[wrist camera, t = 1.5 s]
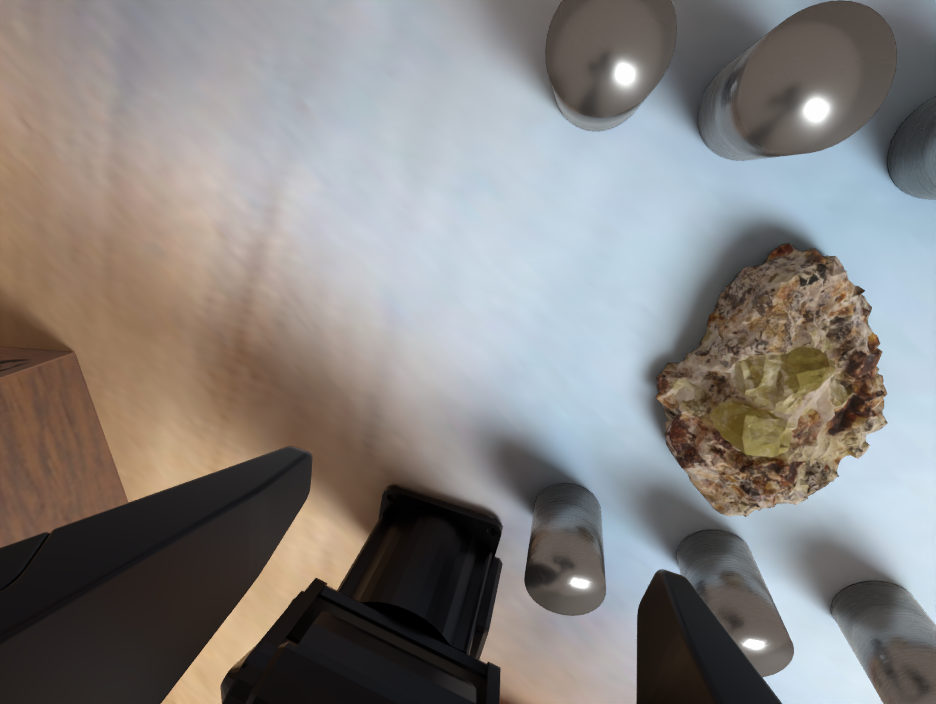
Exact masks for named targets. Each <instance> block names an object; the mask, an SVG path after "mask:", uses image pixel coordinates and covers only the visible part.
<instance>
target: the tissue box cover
mask: <svg viewBox="0 0 936 704" xmlns="http://www.w3.org/2000/svg"><path fill="white" fill-rule="evenodd" d="M126 503H128V500H127V497H126V495H125V492H124V489H123V486H122V483H121V481H120V478H119V475H118V472H117V469H116V467H115V464H114V461H113V458H112V455H111V453H110V450H109V447H108V444H107V441H106V439H105V436H104V433H103V430H102V427H101V425H100V422H99V419H98V416H97V413H96V411H95V408H94V405H93V402H92V399H91V397H90V394H89V391H88V388H87V385H86V383H85V380H84V377H83V374H82V371H81V369H80V366H79V363H78V360H77V357H76V355H75V352H66V351H52V350H39V349H25V348H11V347H0V548H1V547H4V546H7V545H10V544H13V543H15V542H18V541H21V540H24V539H27V538H30V537H32V536H35V535H38V534H41V533H44V532H49V533H51V532H52V530H54V529H55V528H58V527H61V526H64V525H67V524H70V523H72V522H75V521H78V520H81V519H84V518H87V517H90V516H92V515H95V514H98V513H101V512H104V511H107V510H109V509H112V508H115V507H118V506H121V505H124V504H126Z"/></svg>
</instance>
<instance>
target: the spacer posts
mask: <svg viewBox="0 0 936 704" xmlns="http://www.w3.org/2000/svg"><path fill="white" fill-rule="evenodd" d="M675 41H676V16H675V12H674V8H673V5H672V2H671V0H563V1H562V2H561V4H560V5H559V7H558V9H557V11H556V12H555V14H554V16H553V19H552V21H551V24H550V27H549V31H548V34H547V40H546V50H545V56H546V66H547V71H548V74H549V78H550V81H551V84H552V88H553V91H554V94H555V97H556V101H557V104H558V106H559V109H560V110H561V112H562V114H563V115H564V116H565V118H566V119H567V120H568V121H569V122H571V123H572V124H573V125H575V126H576V127H579V128H581V129H584V130H587V131H604V130H608V129H611V128H614V127H616V126H618V125H620V124H621V123H623V122H624V121H626V120H627V119H628V118H629V117H630V116H631V115H632V114H633V113H634V112H635V111H636V110H637V109H638V107H639V106H640V105H641V104H642V102H643V101H644V100H645V99H646V98H647V96H648V95H649V94H650V93H651V91H652V90H653V89H654V88H655V86H656V85H657V84H658V83H659V81H660V80H661V78H662V77H663V75H664V73H665V71H666V69H667V68H668V66H669V63H670V60H671V58H672V55H673V51H674V47H675ZM896 64H897V50H896V43H895V39H894V36H893V33H892V31H891V29H890V27H889V25H888V24H887V22H886V21H885V20H884V18H883V17H882V16H880V15H879V14H878V13H877V12H876V11H874V10H873V9H871V8H870V7H867V6H865V5H863V4H860V3H856V2H852V1H829V2H824V3H819V4H816V5H813V6H810V7H808V8H805V9H803V10H801V11H799V12H797V13H795V14H794V15H792V16H790V17H789V18H787V19H786V20H785V21H783V22H782V23H781V24H779V25H778V26H777V27H776V28H774V29H773V30H772V31H770V32H769V33H768V34H767V35H765V36H764V37H763V38H761V39H760V40H759V41H758V42H756V43H755V44H754V45H752V46H751V47H750V48H749V49H747V50H746V51H745V52H743V53H742V54H741V55H740V56H738V57H737V58H736V59H734V60H733V61H732V62H731V63H729V64H728V65H727V66H725V67H724V68H723V69H722V70H721V71H720V72H719V73H718V74H717V75H716V76H715V77H714V78H713V79H712V81H711V82H710V84H709V85H708V87H707V89H706V90H705V92H704V95H703V97H702V100H701V103H700V106H699V112H698V124H699V130H700V134H701V136H702V139H703V140H704V142H705V144H706V145H707V146H708V147H709V148H710V149H711V150H712V151H713V152H714V153H716V154H717V155H719V156H721V157H723V158H726V159H730V160H736V161H744V160H753V159H761V158H770V157H779V156H788V155H796V154H805V153H812V152H816V151H820V150H824V149H826V148H829V147H832V146H834V145H836V144H838V143H840V142H842V141H843V140H845V139H847V138H848V137H850V136H851V135H853V134H854V133H855V132H856V131H858V130H859V129H860V128H861V127H862V126H863V125H865V124H866V123H867V122H868V121H869V119H870V118H871V117H872V116H873V115H874V114H875V113H876V111H877V110H878V108H879V107H880V106H881V104H882V103H883V101H884V99H885V97H886V96H887V94H888V91H889V89H890V87H891V84H892V81H893V78H894V75H895V70H896ZM888 170H889V173H890V176H891V178H892V180H893V182H894V183H895V184H896V186H897V187H898V188H899V189H901V190H902V191H903V192H905V193H906V194H908V195H911V196H913V197H917V198H921V199H930V200H936V97H934V98H932V99H930V100H928V101H927V102H925V103H924V104H922V105H921V106H920V107H918V108H917V109H916V110H915V111H914V112H912V113H911V114H910V115H909V116H908V117H907V119H906V120H905V121H904V122H903V123H902V125H901V126H900V127H899V129H898V130H897V132H896V134H895V135H894V138H893V140H892V142H891V145H890V148H889V153H888ZM677 562H678V566H679V570H680V573H681V575H682V576H684V577H685V578H687V579H688V580H689V582H690V583H691V584H692V585H693V587H694V588H695V589H696V591H697V592H698V593H699V595H700V596H701V597H702V599H703V600H704V601H705V603H706V604H707V605H708V607H709V608H710V609H711V610H712V612H713V613H714V614H715V616H716V617H717V618H718V620H719V621H720V622H721V624H722V625H723V626H724V628H725V629H726V630H727V632H728V633H729V634H730V636H731V637H732V638H733V639H734V641H735V642H736V643H737V645H738V646H739V647H740V649H741V650H742V651H743V653H744V654H745V655H746V657H747V658H748V659H749V661H750V662H751V663H752V664H753V666H754V667H755V668H756V670H757V671H758V672H759V674H760V675H761V676H762V677H766V676H770V675H773V674H775V673H777V672H779V671H781V670H783V669H784V668H785V667H786V666H787V665H788V664H789V663H790V661H791V660H792V657H793V654H794V647H793V643H792V641H791V639H790V637H789V634H788V632H787V630H786V628H785V626H784V623H783V621H782V619H781V617H780V615H779V613H778V610H777V608H776V606H775V604H774V602H773V599H772V597H771V595H770V593H769V591H768V588H767V586H766V584H765V582H764V580H763V578H762V575H761V573H760V571H759V569H758V567H757V564H756V562H755V560H754V558H753V556H752V554H751V551H750V549H749V547H748V546H747V544H746V543H745V542H744V541H743V540H741V539H740V538H739V537H737V536H735V535H733V534H731V533H728V532H724V531H719V530H706V531H701V532H697V533H694V534H692V535H690V536H688V537H687V538H686V539H684V540H683V541H682V543H681V544H680V545H679V547H678V550H677ZM524 580H525V586H526V589H527V591H528V593H529V595H530V596H531V597H532V599H533V600H534V601H535V602H536V603H538V604H539V605H540V606H542V607H543V608H545V609H547V610H549V611H551V612H554V613H557V614H562V615H569V616H575V615H583V614H586V613H589V612H591V611H593V610H595V609H596V608H598V607H599V606H600V605H601V603H602V602H603V600H604V598H605V595H606V582H605V566H604V550H603V534H602V518H601V508H600V505H599V502H598V501H597V499H596V498H595V496H594V495H593V494H592V493H590V492H589V491H588V490H586V489H585V488H583V487H580V486H578V485H574V484H569V483H560V484H554V485H551V486H549V487H547V488H545V489H544V490H543V491H541V492H540V494H539V495H538V496H537V498H536V501H535V506H534V513H533V521H532V528H531V535H530V542H529V549H528V556H527V563H526V570H525V579H524ZM831 611H832V615H833V617H834V619H835V620H836V622H837V624H838V626H839V627H840V629H841V631H842V633H843V634H844V636H845V638H846V639H847V641H848V643H849V645H850V646H851V648H852V650H853V652H854V653H855V655H856V657H857V659H858V660H859V662H860V664H861V665H862V667H863V669H864V671H865V672H866V674H867V676H868V678H869V679H870V681H871V683H872V684H873V686H874V688H875V690H876V691H877V693H878V695H879V697H880V698H881V700H882V702H883V703H884V704H936V625H935V624H934V622H933V621H932V620H931V619H930V617H929V616H928V615H927V614H926V612H925V611H924V610H923V609H922V607H921V606H920V605H919V604H918V602H917V601H916V600H915V599H914V597H913V596H912V595H911V594H910V593H909V592H908V591H906V590H905V589H903V588H901V587H899V586H897V585H894V584H891V583H886V582H878V581H870V582H862V583H858V584H854V585H851V586H849V587H847V588H845V589H843V590H842V591H841V592H839V593H838V594H837V595H836V597H835V598H834V600H833V602H832V605H831Z"/></svg>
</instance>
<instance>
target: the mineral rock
mask: <svg viewBox="0 0 936 704" xmlns="http://www.w3.org/2000/svg"><path fill="white" fill-rule="evenodd" d="M864 291H865V290H863V289H862V288H860V287H859V286H854V285H853V284H852V283H851V282H850V281H849V280H848V278H847V272H846V271H845V270H844V268H843V265H842V264H841V262H840V261H839V260H838V258H837V257H836V256H828V255H827V256H826V257H825V256H822V255H821V254H820V253H819V252H818V251H817V250H816V249H815V248H814V249H810V250H805V251H799V250H797V249H796V248H795V247H794V246H793V245H791V244H790V243H787V244H784V245H780V246H779V247H778V248H777V249H775V250H774V251H773V252H772V253H770V254H769V256H768V257H767V259H766V261H765V263H764V264H763V265H756V266H754V267H745V268H743V270H742V271H741V272H740V273H739V274H738V275H737V276H736V278H735V279H734V280H733V281H732V282H731V283H730V284H729V285H728V286H726V290H725V291H724V292H722V293H721V294H720V296H719V299H718V301H717V304H716V306H715V311H714V312H713V313H712V314H711V315H710V316H709V319H708V323H707V331H706V334H705V335H704V337H703V338H702V340H701V342H700V345H699V347H698V348H697V349H696V350H693V351H692V352H690V353H688V354H686V358H685V360H684V361H681V362H680V363H668V364H667V366H666V367H665V369H664V371H663V372H662V373H661V374H660V375H659V376H658V377H657V381H658V385H657V388H658V390H659V391H660V392H659V393H658V395H657V396H656V398H657V399H658V400H659V402H660V403H661V404H662V405H663V407H664V411H665V415H666V417H667V419H668V420H667V422H666V423H665V425H666V432H665V436H666V439H667V440H666V444H667V446H668V448H669V450H670V451H671V453H672V454H673V456H674V457H675V459H676V460H677V462H678V463H679V465H680V466H681V468H683V469H684V470H685V472H686V473H687V474H688V476H689V479H690V481H691V482H692V483H693V485H694V486H695V487H696V488H697V489H698V490H699V491H700V493H701V494H702V495H703V496H704V498H705V499H706V500H707V501H708V502H709V503H710V504H711V505H712V507H713V508H714V509H715V510H716V511H718V512H719V513H721V514H724V515H727V516H733V515H743V516H745V517H746V516H748V515H749V514H750V513H751V512H752V511H754V510H755V509H757V510H761V509H762V508H771V507H775V505H776V504H781V503H791V504H795V505H796V504H798V503H800V502H802V501H804V500H806V499H808V496H809V495H811V494H813V493H815V492H816V491H818V490H820V489H821V488H823V487H825V486H826V485H828V484H829V482H832V481H834V479H835V478H836V477H839V476H838V474H837V468H838V465H839V462H840V460H841V459H842V458H844V457H845V456H848V455H852V456H854V457H855V458H857V459H858V458H859V457H861V456H862V455H863V454H864V453H865V452H866V451H867V449H868V448H869V446H870V445H869V444H868V443H866V435H867V434H870V433H873V432H876V431H878V430H880V429H881V428H883V427H884V426H885V425H886V424H887V421H886V419H885V417H884V416H883V414H882V410H883V409H884V399H883V397H885V396H886V395H887V392H886V389H885V387H884V385H883V376H882V375H879V374H877V373H878V371H879V369H878V368H877V367H876V365H877V363H878V361H879V359H880V357H881V354H882V351H881V350H879V349H878V348H877V347H878V346H879V345H880V342H879V339H878V337H877V335H875V334H874V333H873V332H872V330H871V328H870V327H869V325H868V317H869V315H870V312H871V310H872V307H871V306H870V305H869V303H868V302H867V301H866V299H865V297H864V296H863V295H861V294H862V293H863V292H864Z"/></svg>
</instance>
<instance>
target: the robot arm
mask: <svg viewBox="0 0 936 704" xmlns="http://www.w3.org/2000/svg"><path fill="white" fill-rule="evenodd" d="M311 473H312V454H311V453H310V452H308V451H306V450H303V449H300V448H297V447H293V446H289V447H285V448H282V449H279V450H276V451H274V452H271V453H268V454H265V455H262V456H259V457H257V458H254V459H251V460H248V461H245V462H242V463H240V464H237V465H234V466H231V467H228V468H225V469H223V470H220V471H217V472H214V473H211V474H208V475H206V476H203V477H200V478H197V479H194V480H191V481H189V482H186V483H183V484H180V485H177V486H174V487H172V488H169V489H166V490H163V491H160V492H157V493H155V494H152V495H149V496H146V497H143V498H141V499H138V500H135V501H132V502H129V503H126V504H124V505H121V506H118V507H115V508H112V509H109V510H107V511H104V512H101V513H98V514H95V515H92V516H90V517H87V518H84V519H81V520H78V521H75V522H72V523H70V524H67V525H64V526H61V527H58V528H55V529H54V530H52V532H51V533H49V532H44V533H41V534H38V535H35V536H32V537H30V538H27V539H24V540H21V541H18V542H15V543H13V544H10V545H7V546H4V547H1V548H0V704H161V703H162V701H163V700H164V699H165V697H166V696H167V695H168V693H169V692H170V691H171V690H172V688H173V687H174V686H175V684H176V683H177V682H178V680H179V679H180V678H181V677H182V675H183V674H184V673H185V671H186V670H187V669H188V667H189V666H190V665H191V664H192V662H193V661H194V660H195V658H196V657H197V656H198V655H199V653H200V652H201V651H202V649H203V648H204V647H205V645H206V644H207V643H208V642H209V640H210V639H211V638H212V636H213V635H214V634H215V632H216V631H217V630H218V629H219V627H220V626H221V625H222V623H223V622H224V621H225V619H226V618H227V617H228V616H229V614H230V613H231V612H232V610H233V609H234V608H235V606H236V605H237V604H238V603H239V601H240V600H241V599H242V597H243V596H244V595H245V594H246V592H247V591H248V590H249V588H250V587H251V586H252V584H253V583H254V581H255V580H256V579H257V577H258V576H259V574H260V573H261V571H262V570H263V568H264V567H265V565H266V564H267V562H268V561H269V559H270V557H271V556H272V554H273V552H274V551H275V549H276V548H277V546H278V544H279V543H280V541H281V540H282V538H283V536H284V535H285V533H286V532H287V530H288V528H289V527H290V525H291V524H292V522H293V520H294V519H295V517H296V516H297V514H298V512H299V511H300V509H301V507H302V506H303V504H304V503H305V501H306V499H307V497H308V494H309V491H310V485H311ZM390 494H392V495H394V496H395V497H393V496H391V495H390ZM490 528H494V529H495V530H491V529H490ZM502 528H503V526H502V524H501V523H500V522H499V521H498V520H496V519H494V518H491V517H488V516H485V515H482V514H479V513H476V512H473V511H470V510H466V509H463V508H460V507H457V506H454V505H451V504H448V503H445V502H442V501H439V500H436V499H433V498H430V497H427V496H424V495H421V494H418V493H415V492H412V491H409V490H406V489H403V488H400V487H397V486H393V485H392V486H388V487H387V488H386V490H385V491H384V493H383V495H382V502H381V508H380V514H379V520H378V522H377V524H376V526H375V527H374V529H373V531H372V532H371V534H370V536H369V537H368V539H367V541H366V542H365V544H364V546H363V547H362V549H361V551H360V553H359V554H358V556H357V558H356V559H355V561H354V563H353V564H352V566H351V568H350V569H349V571H348V573H347V575H346V576H345V578H344V580H343V581H342V583H341V585H340V586H339V588H338V590H335V589H333V588H331V587H329V586H327V583H326V582H324V581H322V580H320V579H318V578H315V579H314V581H313V582H312V583H311V584H310V585H309V587H308V588H307V589H306V590H305V592H304V591H301V592H300V593H299V594H298V596H297V597H296V598H294V599H293V600H292V602H291V603H290V605H289V606H288V608H287V609H286V610H285V611H284V613H283V614H282V615H281V616H280V618H279V619H278V620H277V621H276V622H275V624H274V625H273V626H272V627H271V628H270V630H269V631H268V632H267V633H266V634H265V636H264V637H263V638H262V639H261V641H260V642H259V643H258V644H257V645H256V646H255V647H254V648H253V649H252V650H251V651H249V652H248V653H247V654H246V655H245V656H244V657H243V658H242V659H241V660H240V661H239V662H237V663H236V664H235V665H234V666H233V667H232V668H231V669H230V670H229V672H228V673H227V675H226V676H225V678H224V680H223V681H222V684H221V698H222V704H499V696H500V667H498V666H496V665H494V664H492V663H490V662H488V663H487V664H486V663H484V662H482V661H480V660H479V659H480V656H481V653H482V650H483V647H484V644H485V641H486V638H487V635H488V632H489V628H490V623H491V618H492V613H493V608H494V603H495V598H496V593H497V588H498V583H499V578H500V573H501V568H502V562H501V560H500V558H497V557H495V554H496V550H497V547H498V544H499V541H500V537H501V534H502ZM637 704H782V703H781V701H780V700H779V699H778V697H777V696H776V695H775V693H774V692H773V691H772V689H771V688H770V687H769V686H768V684H767V683H766V682H765V680H764V679H763V678H762V676H761V675H760V674H759V672H758V671H757V670H756V668H755V667H754V666H753V664H752V663H751V662H750V661H749V659H748V658H747V657H746V655H745V654H744V653H743V651H742V650H741V649H740V647H739V646H738V645H737V643H736V642H735V641H734V639H733V638H732V637H731V636H730V634H729V633H728V632H727V630H726V629H725V628H724V626H723V625H722V624H721V622H720V621H719V620H718V618H717V617H716V616H715V614H714V613H713V612H712V610H711V609H710V608H709V607H708V605H707V604H706V603H705V601H704V600H703V599H702V597H701V596H700V595H699V593H698V592H697V591H696V589H695V588H694V587H693V585H692V584H691V583H690V582H689V580H688V579H687V578H685V577H684V576H682V575H679V574H676V573H673V572H670V571H667V570H663V569H662V570H658V571H657V572H656V573H655V575H654V577H653V579H652V580H651V582H650V584H649V586H648V588H647V590H646V592H645V594H644V596H643V598H642V600H641V602H640V605H639V608H638V615H637Z"/></svg>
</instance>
